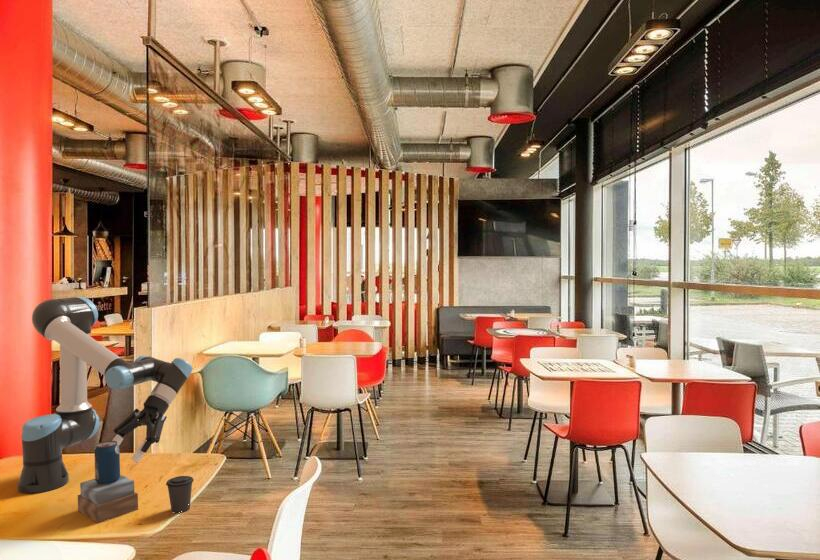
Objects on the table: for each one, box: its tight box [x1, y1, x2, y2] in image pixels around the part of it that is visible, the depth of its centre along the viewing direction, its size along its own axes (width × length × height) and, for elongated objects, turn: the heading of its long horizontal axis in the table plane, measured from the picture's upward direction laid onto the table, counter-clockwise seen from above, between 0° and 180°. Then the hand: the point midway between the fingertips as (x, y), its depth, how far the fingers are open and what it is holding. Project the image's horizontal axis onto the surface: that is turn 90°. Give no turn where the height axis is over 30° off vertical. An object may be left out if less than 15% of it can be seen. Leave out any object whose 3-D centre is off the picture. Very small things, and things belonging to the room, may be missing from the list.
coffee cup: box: [165, 475, 195, 514], centre depth 183 cm, size 8×8×10 cm
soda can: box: [94, 440, 121, 485], centre depth 183 cm, size 7×7×12 cm
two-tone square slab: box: [77, 474, 139, 524], centre depth 184 cm, size 14×12×9 cm
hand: (120, 457), depth 187 cm, fingers open, 13 cm apart
